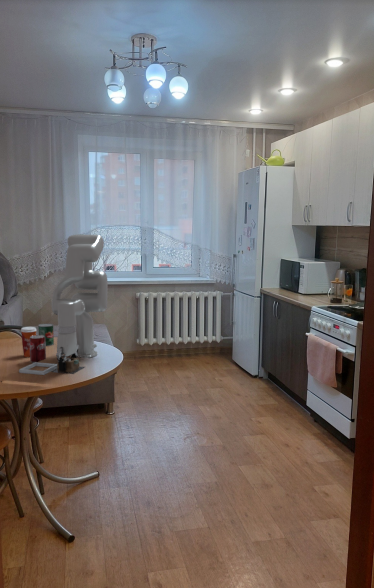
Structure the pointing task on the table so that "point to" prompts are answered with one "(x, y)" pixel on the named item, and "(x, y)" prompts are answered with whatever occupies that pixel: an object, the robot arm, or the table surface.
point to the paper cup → (27, 339)
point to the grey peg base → (68, 372)
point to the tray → (25, 370)
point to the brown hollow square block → (70, 365)
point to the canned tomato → (47, 333)
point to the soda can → (37, 348)
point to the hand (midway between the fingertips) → (68, 367)
